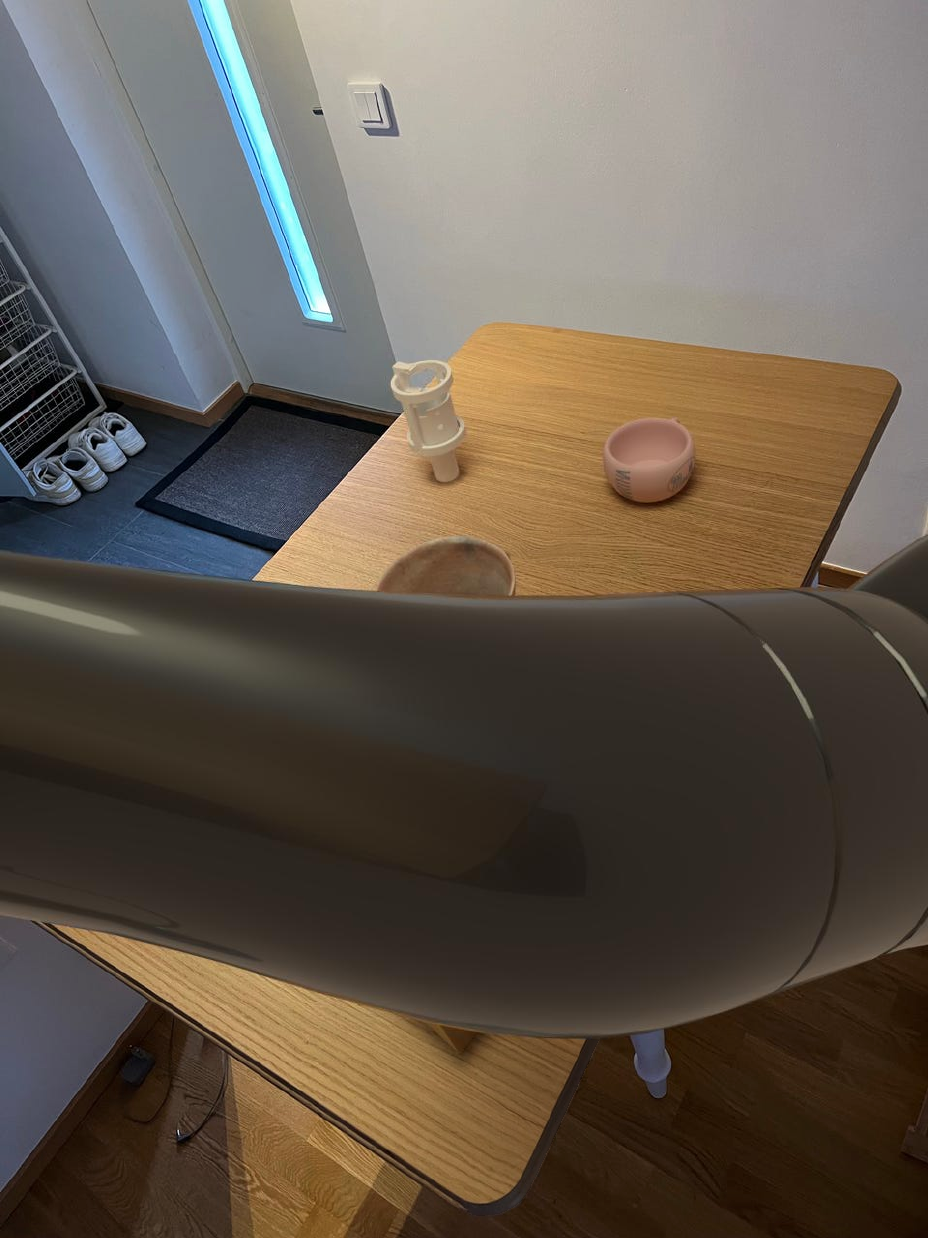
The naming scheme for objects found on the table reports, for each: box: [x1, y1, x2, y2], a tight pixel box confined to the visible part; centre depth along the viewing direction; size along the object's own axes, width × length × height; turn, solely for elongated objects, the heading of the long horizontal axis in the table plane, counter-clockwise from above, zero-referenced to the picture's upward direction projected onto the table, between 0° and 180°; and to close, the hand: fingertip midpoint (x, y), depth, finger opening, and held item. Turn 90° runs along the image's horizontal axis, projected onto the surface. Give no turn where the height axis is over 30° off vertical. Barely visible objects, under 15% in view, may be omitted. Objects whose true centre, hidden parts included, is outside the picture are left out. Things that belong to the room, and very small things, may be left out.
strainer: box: [390, 359, 467, 483], centre depth 98 cm, size 7×7×15 cm
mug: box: [602, 417, 696, 503], centre depth 93 cm, size 12×10×6 cm
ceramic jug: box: [373, 535, 517, 595], centre depth 75 cm, size 18×14×14 cm
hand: (362, 858), depth 44 cm, fingers open, 8 cm apart
